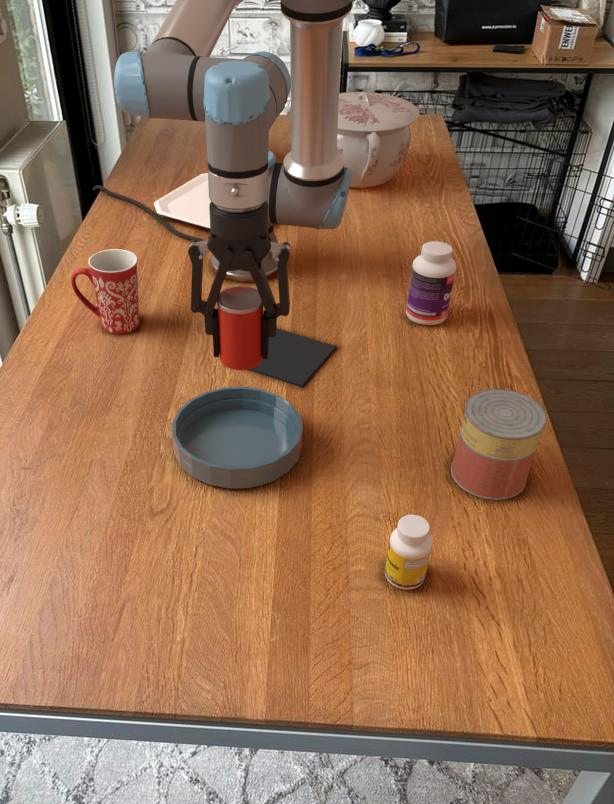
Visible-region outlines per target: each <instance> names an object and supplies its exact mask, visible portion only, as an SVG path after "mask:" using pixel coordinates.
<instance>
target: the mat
mask: <svg viewBox="0 0 614 804" xmlns="http://www.w3.org/2000/svg"><path fill="white" fill-rule="evenodd" d="M335 349H337V346H336V345H334V344H330V343H326V342H324V341H320V340H317V339H313V338H310V337H307V336H304V335H301V334H297V333H293V332H290V331H286V330H283V329H280V328H277V330H276V335H275V337H269V350H268V359H263V360H262V362H261V363H260V364H259V365H258V366H256V367H254V368H252V369H248V370H247V371H252V372H255V373H257V374H261V375H264V376H268V377H270V378H274V379H277V380H280V381H282V382H286V383H289V384H292V385H295V386H298V387H301V388H302V387H304V385H306V383H307V382H308V381H309V380H310V378H311V377H312V376H313V375H314V374H315V373H316V371H318V369H319V368H320V367H321V366H322V365H323V363H324V362H325V361H326V360H327V359H328V358H329V356H330V355H331V354H332V353H333V352H334V351H335Z"/></svg>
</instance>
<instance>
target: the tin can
mask: <svg viewBox="0 0 614 804" xmlns="http://www.w3.org/2000/svg"><path fill="white" fill-rule="evenodd" d="M216 305H217V309H218V327H219V351H220V354H219V361H220V362H221V364H222V365H223V366H225V367H226V368H228V369H231V370H234V371H235V370H236V371H249V370H248V369H252V368H254V367H256V366H258V365H259V364H260V363H261V362H262V360H263V359H262V320H263V312H264V306H263V303H262V300H261V298H260V295H259V292H258V290H257V288H255V287H251V286H248V285H247V286H246V285H236V286H230V287H227V288H224V289H221V291H220V294H219V296H218V299H217V302H216Z"/></svg>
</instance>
